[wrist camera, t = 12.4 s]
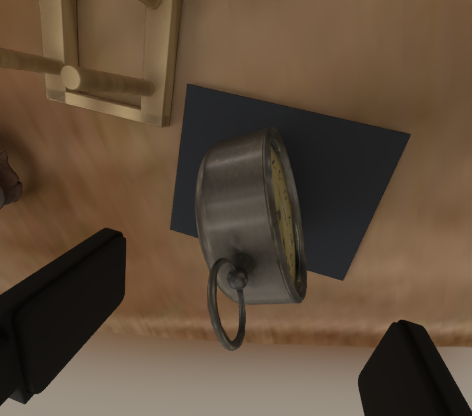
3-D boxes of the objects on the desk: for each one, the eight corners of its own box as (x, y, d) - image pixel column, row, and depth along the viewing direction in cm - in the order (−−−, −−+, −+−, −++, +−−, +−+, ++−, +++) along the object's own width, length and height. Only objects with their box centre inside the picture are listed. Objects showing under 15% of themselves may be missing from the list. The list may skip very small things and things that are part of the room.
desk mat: (408, 134, 20) (411, 134, 19) (342, 277, 25) (343, 281, 25) (189, 84, 22) (187, 83, 21) (171, 227, 27) (169, 229, 27)
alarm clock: (307, 239, 24) (328, 448, 9) (251, 247, 26) (193, 436, 11) (283, 119, 21) (256, 147, 6) (221, 136, 22) (78, 191, 8)
